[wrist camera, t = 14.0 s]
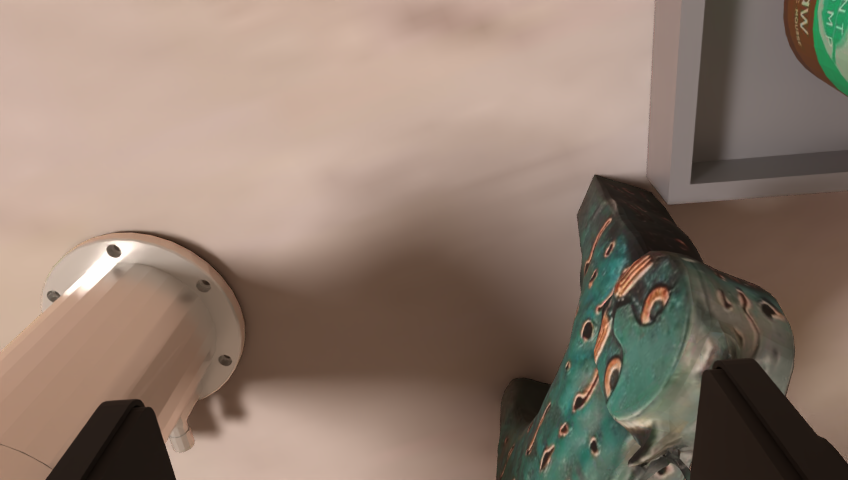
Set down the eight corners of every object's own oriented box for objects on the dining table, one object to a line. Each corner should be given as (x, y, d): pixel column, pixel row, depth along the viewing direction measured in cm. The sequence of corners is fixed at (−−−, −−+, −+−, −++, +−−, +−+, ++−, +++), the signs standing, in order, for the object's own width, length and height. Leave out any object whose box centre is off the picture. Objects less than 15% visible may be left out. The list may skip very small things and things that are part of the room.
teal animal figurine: (587, 139, 35) (731, 364, 17) (697, 173, 35) (949, 425, 17) (473, 410, 43) (486, 750, 25) (562, 433, 44) (637, 783, 26)
